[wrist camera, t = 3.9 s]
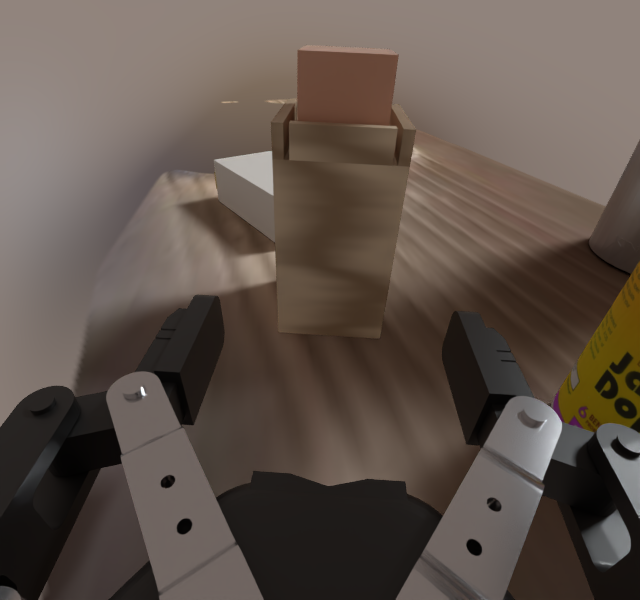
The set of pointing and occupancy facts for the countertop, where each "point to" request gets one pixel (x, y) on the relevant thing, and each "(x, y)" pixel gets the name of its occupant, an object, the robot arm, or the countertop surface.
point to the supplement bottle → (607, 369)
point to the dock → (248, 189)
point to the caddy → (337, 220)
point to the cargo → (345, 84)
